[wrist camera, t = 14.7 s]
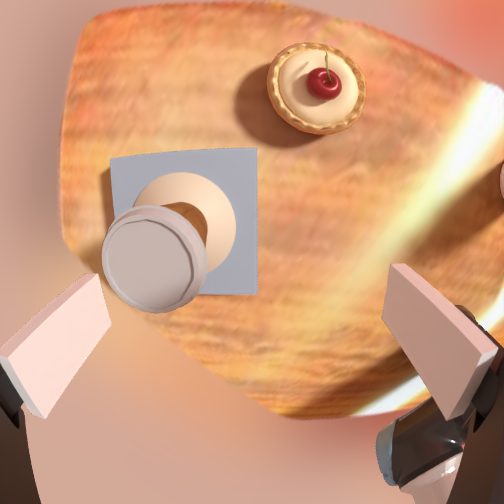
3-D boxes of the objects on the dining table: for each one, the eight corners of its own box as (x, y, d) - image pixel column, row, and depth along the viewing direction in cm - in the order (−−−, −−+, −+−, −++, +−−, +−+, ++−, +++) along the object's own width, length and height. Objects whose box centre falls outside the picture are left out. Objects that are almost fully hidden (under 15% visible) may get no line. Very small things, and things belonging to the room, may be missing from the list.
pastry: (273, 139, 34) (276, 137, 26) (260, 56, 30) (259, 30, 22) (361, 133, 33) (389, 131, 25) (348, 52, 29) (371, 30, 21)
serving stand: (257, 281, 40) (257, 295, 36) (136, 280, 40) (125, 293, 36) (256, 148, 34) (257, 147, 30) (123, 157, 34) (108, 158, 30)
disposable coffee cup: (171, 277, 35) (139, 332, 24) (131, 213, 32) (78, 244, 21) (236, 243, 33) (228, 291, 22) (195, 172, 31) (162, 184, 19)
